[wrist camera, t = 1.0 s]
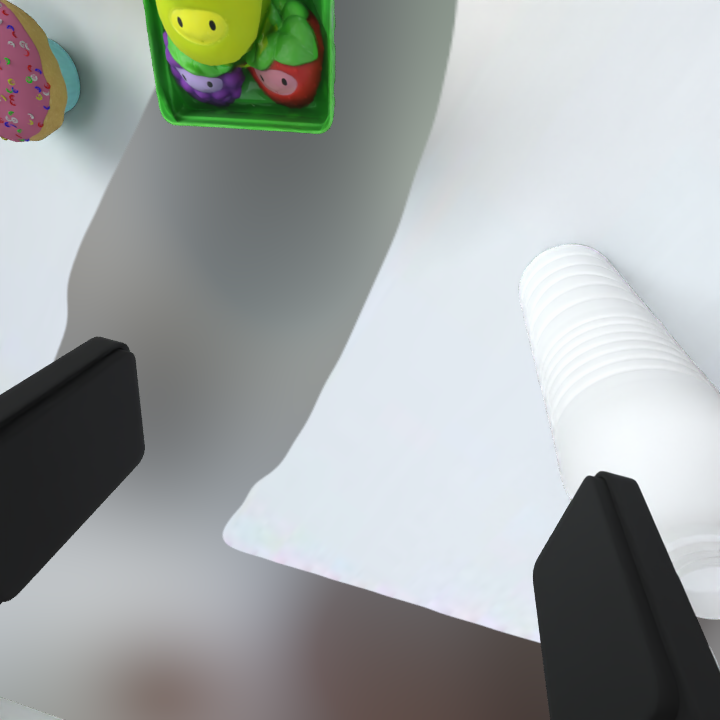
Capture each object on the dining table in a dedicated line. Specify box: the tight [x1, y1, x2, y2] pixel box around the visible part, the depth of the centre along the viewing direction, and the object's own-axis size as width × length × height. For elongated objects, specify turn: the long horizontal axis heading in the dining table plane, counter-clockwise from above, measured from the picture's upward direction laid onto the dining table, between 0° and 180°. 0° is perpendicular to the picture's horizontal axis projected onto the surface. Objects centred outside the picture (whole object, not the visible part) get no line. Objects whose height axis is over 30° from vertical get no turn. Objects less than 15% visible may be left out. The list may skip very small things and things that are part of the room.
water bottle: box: [519, 244, 720, 671], centre depth 24 cm, size 9×6×25 cm
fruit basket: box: [143, 0, 335, 134], centre depth 26 cm, size 11×9×11 cm
